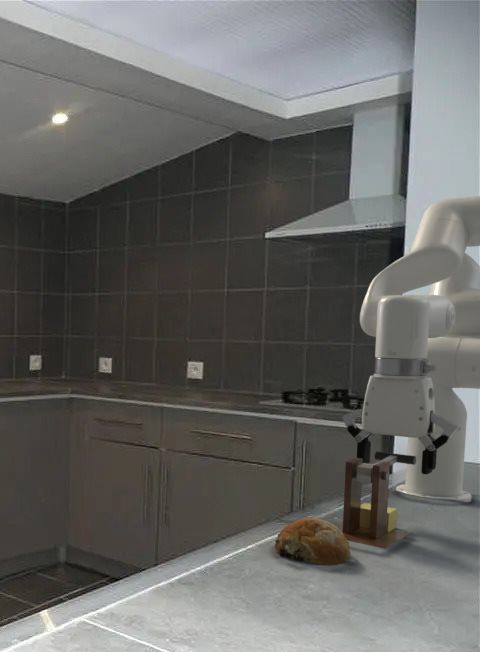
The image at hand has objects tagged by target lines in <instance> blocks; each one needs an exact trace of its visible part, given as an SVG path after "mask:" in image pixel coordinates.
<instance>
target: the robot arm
mask: <svg viewBox="0 0 480 652" xmlns="http://www.w3.org/2000/svg"><path fill="white" fill-rule="evenodd" d="M468 247H469V248H470V247H480V195H474V196H465V197H454V198H447V199H442V200H438V201H436V202H434V203H432V204H430V206H429V207H427V208H426V210H425V211H424V213H423V215H422V217H421V220H420V223H419V226H418V227H417V231H416V234H415V236H414V239H413V242H412V245H411V248H410V251H409V252H408V253H406V254H404V255H403V256H402V257H399V259H396V260H395V261H393V262H392V263H391V264H389V265H387V266H386V267H384V269H383V270H381V271H380V272H379V273H377V274H376V275H375V277H373V279H372V280H371V282H370V283H369V286H368V288H367V290H366V294H365V296H364V299H363V300H362V301H363V302H362V305H361V308H360V312H359V324H360V327H361V330H362V331H363V332H364V333H365V334H366V335H367V336H370V337H373V338H375V350H374V370H373V371H374V373H373V375H370V376H369V379H368V382H367V386H366V390H365V395H364V399H363V400H364V401H363V405H362V406H363V407H362V408H359V409H357V410H354V411H351V412H348V413H346V414H344V415H342V416H341V417H342V421H343V423H344V425H345V427H346V430H347V432H348V433H349V434H350V435H351V436H352V437H353V438H354V441H355V442H356V443H357V446H356V458H361V459H363V463H367V464H371V463H370V462H371V451H372V450H371V449H372V448H371V447H372V442H371V441H370V440H369V438H371V437H372V435H374V434H375V435H383V436H384V435H385V436H391V437H392V436H393V437H394V436H395V437H403V438H407V448H406V455H410V456H416V464H415V465H413V464H406V467H405V468H406V469H405V482H404V483H405V484H400V485H397V486H396V488H395V491H396V492H400V493H401V494H402V493H403V494H406V495H408V496H413V497H418V498H424V499H431V500H439V501H441V500H442V501H457V502H463V503H470V502H471V501H472V497H473V496H472V494H471V493H470V492H468V491H465V490H464V489H463V484H464V469H465V468H464V467H465V454H466V453H465V452H466V439H467V438H466V436H467V421H468V420H467V419H468V411H467V408H466V405H465V403H464V402H463V401H462V399H461V398H460V397H459V396H458V394H457V393H456V392H455V391H454V390H453V389H473V390H475V389H476V390H480V265H479V263H478V262H477V261H476V260H475V259H474V258H473V257H472V256H470V255H469V254H467V253H466V250H467V248H468ZM427 286H430V290H429V294H406V293H408V292H411V291H414V290H417V289H421V288H425V287H427ZM358 418H361V427H362V430H361V429H360V427H358V425H357V424H356V422H355V420H356V419H358Z"/></svg>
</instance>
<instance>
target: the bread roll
mask: <svg viewBox="0 0 480 652" xmlns="http://www.w3.org/2000/svg"><path fill="white" fill-rule="evenodd" d="M335 525H336V524H333V522H330V521H328V520H325V519H322V518H318V517H304V518H303V517H302V518H300V519H297V520H295V521H292V522H291V523H289V524H287V525H285V526H284V527H283V528H282V529H281V531H280V532H279V533H277V537H276V539H275V540H274V542H275V543H274V549H275V551H276V554H278V555H279V556H280V557H282V558H288V559H289V558H290V559H293V560H294V561H296V562H305V563H308V564H313V565H319V566H334V565H340V564H346V563H349V562H350V560H351V557H352V556H351V546H350V541H348V540H347V539H346V538H345V536H344V534H343V533H342V532H341V530H340V529H338V528H337V526H335Z"/></svg>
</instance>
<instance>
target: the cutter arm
mask: <svg viewBox="0 0 480 652" xmlns="http://www.w3.org/2000/svg"><path fill="white" fill-rule="evenodd" d="M374 459H375V461H377V462H375V463H368V464H367V463H363V464H361V465H359V466H357V479H356V480H357V481H361V482H362V483H366V484H367V483H368V484H372V475H373V465H375V464H378V463H381V462H383V461H384V462H390V467H391V466H393V465H394V464H396V463H398V464H406V465H407V464H413V465H415V464H416V456H410V455H407V454H402V453H393V452H386V451H375V452H374Z"/></svg>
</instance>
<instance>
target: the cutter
mask: <svg viewBox="0 0 480 652" xmlns="http://www.w3.org/2000/svg"><path fill="white" fill-rule="evenodd" d="M361 464H363V459H361V458H357V457H355V458H352V459H349V460H346V461H345V470H344V472H345V473H344V495H343V512H342V513H343V514H342V521H340V522H338V523H336V524H334V525H335V526H337V528H338V529H340V530H341V532H342V533H343V534H344V536H345V538H346V539H347V541H348V542H352V543H357V544H362V545H367V546H371V547H376V548H381V549H384V550H385V549H387V548H389V547H390V546H392V545H393V544H395V543H398V541H400V540H402V539H403V538H404V539H405V537H407V536H408V535H410V534H412V532H411V531H408V530H407V531H406V530H402V529H397V528H395V529H393V530H391V531H390V532H386V526H387V507H389V506H388V505H389V485H390V469H391V466H390V462H384V461H383V462H381V463H378V464H375V463H374V464H375V465H373V475H372V483H371V497H370V504H371V514H370V529H368V528H363V527H359V525H360V505H362V503H361V502H362V483H363V482H361V481H357V480H356V479H357V466H359V465H361Z"/></svg>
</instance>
